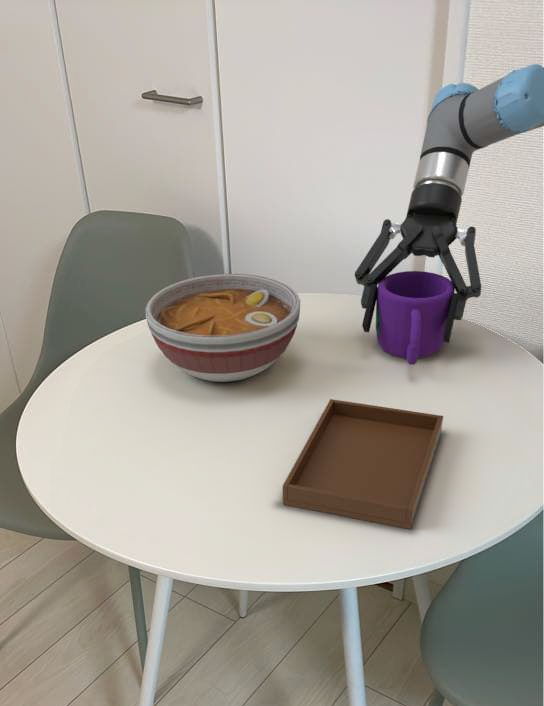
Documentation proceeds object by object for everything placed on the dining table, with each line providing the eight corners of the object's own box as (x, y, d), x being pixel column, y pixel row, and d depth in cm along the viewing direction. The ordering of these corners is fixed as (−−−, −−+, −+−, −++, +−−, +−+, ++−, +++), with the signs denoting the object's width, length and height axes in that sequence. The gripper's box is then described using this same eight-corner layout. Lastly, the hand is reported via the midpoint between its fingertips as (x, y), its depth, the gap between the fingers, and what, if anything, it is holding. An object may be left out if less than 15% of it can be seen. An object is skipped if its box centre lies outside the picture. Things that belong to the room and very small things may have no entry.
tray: (440, 434, 100) (443, 415, 98) (410, 529, 85) (412, 510, 83) (329, 416, 104) (330, 398, 102) (282, 504, 90) (282, 485, 88)
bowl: (318, 341, 121) (320, 281, 115) (271, 412, 106) (269, 346, 99) (189, 324, 128) (184, 266, 122) (127, 389, 113) (116, 326, 106)
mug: (373, 329, 124) (378, 269, 118) (444, 331, 122) (453, 270, 116) (371, 381, 111) (376, 316, 105) (450, 384, 110) (460, 318, 103)
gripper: (517, 213, 113) (486, 353, 113) (362, 201, 120) (332, 332, 119) (521, 186, 106) (488, 335, 105) (356, 174, 113) (324, 315, 112)
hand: (405, 334), depth 112 cm, fingers closed on mug, 11 cm apart
